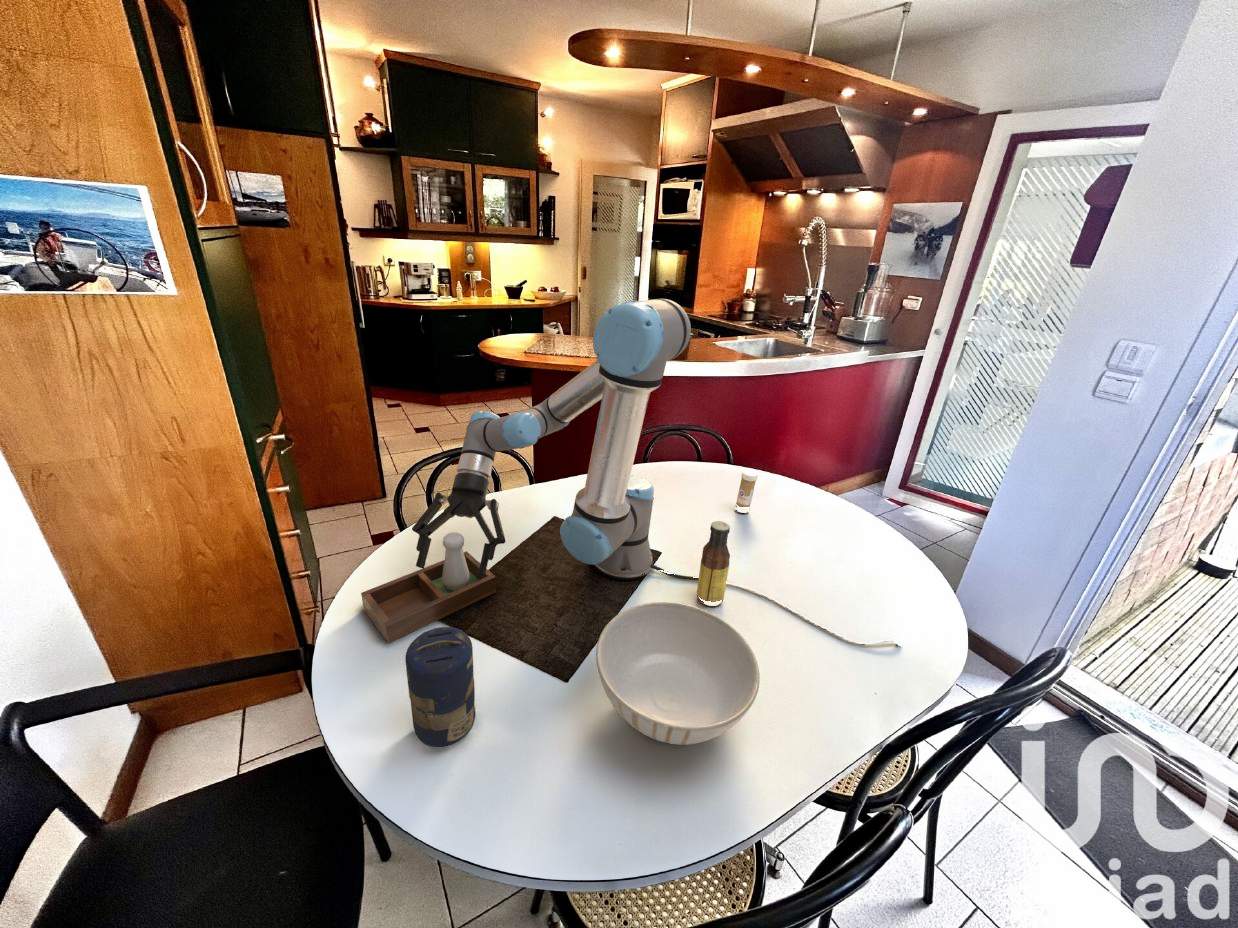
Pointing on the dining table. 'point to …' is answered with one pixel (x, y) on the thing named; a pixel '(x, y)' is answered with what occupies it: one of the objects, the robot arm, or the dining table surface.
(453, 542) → the salt shaker
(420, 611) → the wooden compartment tray
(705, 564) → the sauce bottle
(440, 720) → the canister
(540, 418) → the robot arm
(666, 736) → the decorative bowl
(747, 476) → the sprinkles bottle
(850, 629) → the dining table surface
